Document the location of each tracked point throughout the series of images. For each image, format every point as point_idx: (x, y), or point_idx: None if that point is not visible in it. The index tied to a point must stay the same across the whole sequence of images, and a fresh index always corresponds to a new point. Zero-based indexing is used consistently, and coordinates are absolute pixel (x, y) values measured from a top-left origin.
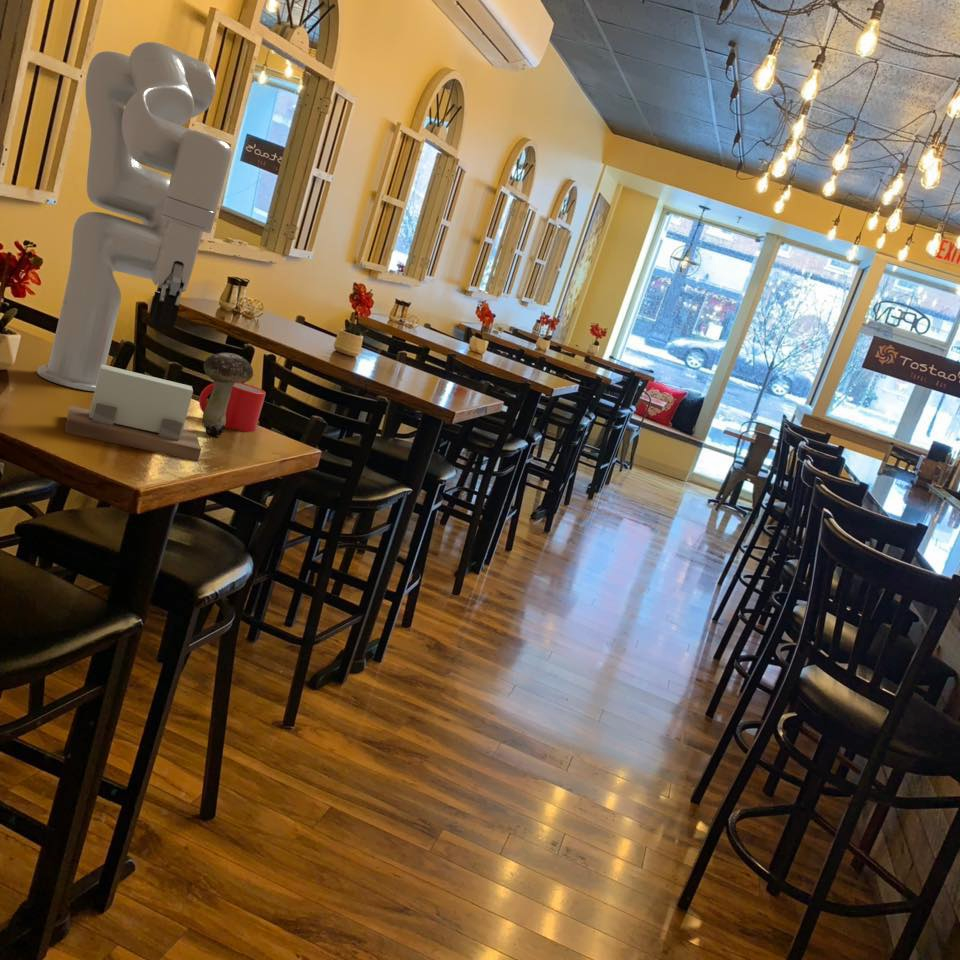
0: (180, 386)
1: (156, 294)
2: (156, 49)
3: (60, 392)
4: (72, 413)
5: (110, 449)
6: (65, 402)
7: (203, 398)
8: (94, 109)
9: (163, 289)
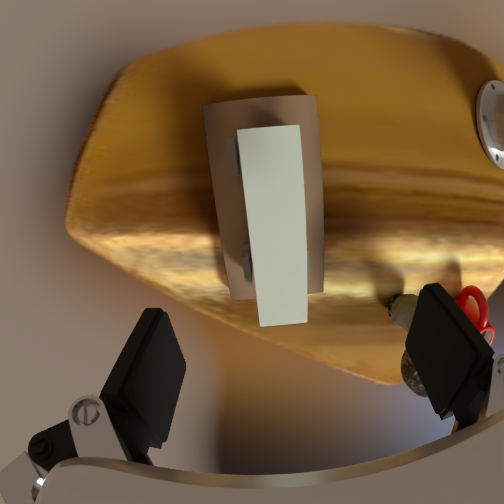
0: (271, 305)
1: (469, 358)
2: None
3: (447, 96)
4: (258, 103)
5: (176, 178)
6: (402, 96)
7: (473, 293)
8: None
9: (79, 454)
